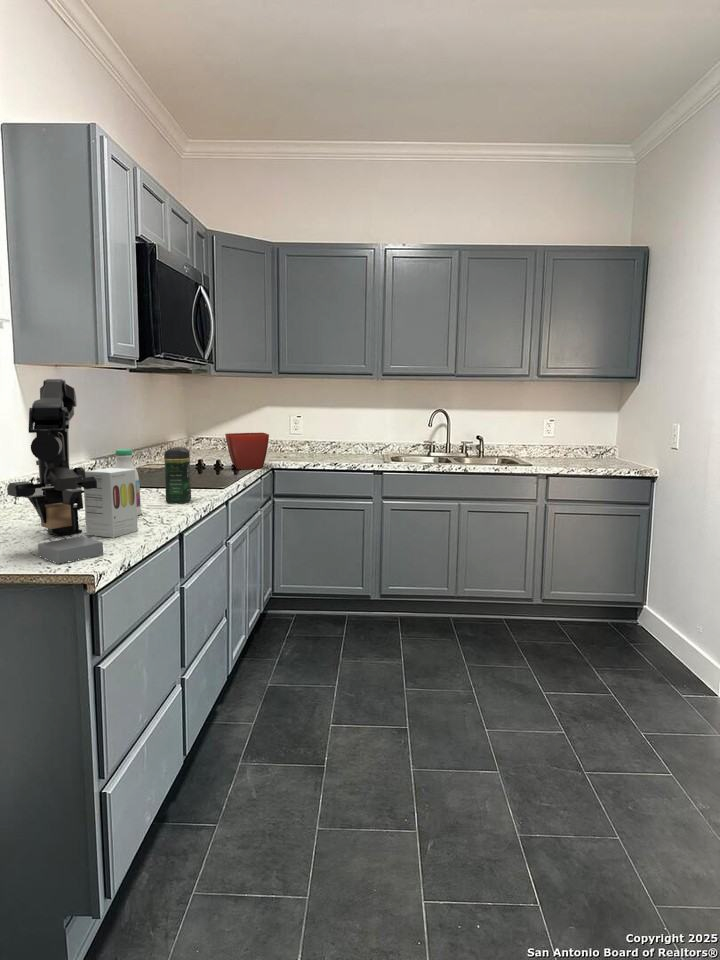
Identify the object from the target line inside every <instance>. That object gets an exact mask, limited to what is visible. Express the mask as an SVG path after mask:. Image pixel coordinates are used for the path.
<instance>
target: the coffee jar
mask: <svg viewBox="0 0 720 960" xmlns="http://www.w3.org/2000/svg"><path fill="white" fill-rule="evenodd" d="M163 455H164V456H163V459H164V474H165V476H164V478H165V479H164V480H165V481H164V482H165V502H166V503H170V504H173V503H178V504H180V503H181V504H182V502H184V503H183V504H186V503H188V502H190V501H191V500H192V487H191V484H192V483H191V457H190V455H191V454H190V450H189V449H188V448H186V447H182V446H175V447H171V448H169V449H167V450H165V451H164V452H163Z"/></svg>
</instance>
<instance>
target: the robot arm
mask: <svg viewBox="0 0 720 960" xmlns="http://www.w3.org/2000/svg"><path fill="white" fill-rule="evenodd" d="M42 384H43V385H42V386H40V388H39V399H36V400H34V401H33V403H32V406H31V407H29V409H28V411H29V412H28V433H29V434H32V433H33V434H36V436H35V437H34V439H32V441H31V444H30V451H31V453H32V455H33V456H34V457H35V458H37V460H35V463H36V466H38V473H39V475H38V477H37V483H34V482H29V481H25V480H24V481H16V482H9V483H8V485H7V486H6V490H7V491H6V492H7V495H8V496H9V497H10V496H11V497H14V498H26V499H28V500H29V502H30V503H31V504H32V506H33V508H34V509H35V511H36V513H37V514H38V517H39V519H40V521H41V520H42V522H43V523H46V519H47V517H46V510H45V505H48V504H56V503H64V504H68V505H71V520H72V526H67V527H61V528H55V529H48V528H47V531H46V532H47V534H49V535H50V534H51V535H53V536H56V537H59V536H60V537H61V536H66V535H72V534H78V533H82V532H83V529H80V526H79V511H81V510H83V509H84V502H83V501H84V500H83V499H84V498H83V494H84V489H92V488H97V480H96V478H95V477H93V476H87V475H85V471H86V469H85V468H84V467H83V466H82V467H81V466H79V467H78V466H77V467H74V468H70V447H69V446H70V443H69V441H70V440H69V429H70V421H71V420H72V418H73V417H74V416H75V408H76V407H77V394H76V390H75V388H74V387H72V386H71V385H69V384H67V382H66V380H63V379H61V378H58V379H57V378H56V379H55V378H49V379H48V378H46V379H44V380H43V383H42Z"/></svg>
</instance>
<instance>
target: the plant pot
mask: <svg viewBox="0 0 720 960" xmlns="http://www.w3.org/2000/svg"><path fill="white" fill-rule="evenodd" d="M269 438H270V434H268V433H266V432H235V433H232V432H231V433H229V432H228V433H225V440H226V446H227V450H228V453H229V457H230V460H231V463H232V466H233V465H235V467H236V469H235V470H252V469H253V470H254V469H263V468H264V465H265V461H266V457H267V452H268V446H269V440H270V439H269Z"/></svg>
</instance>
